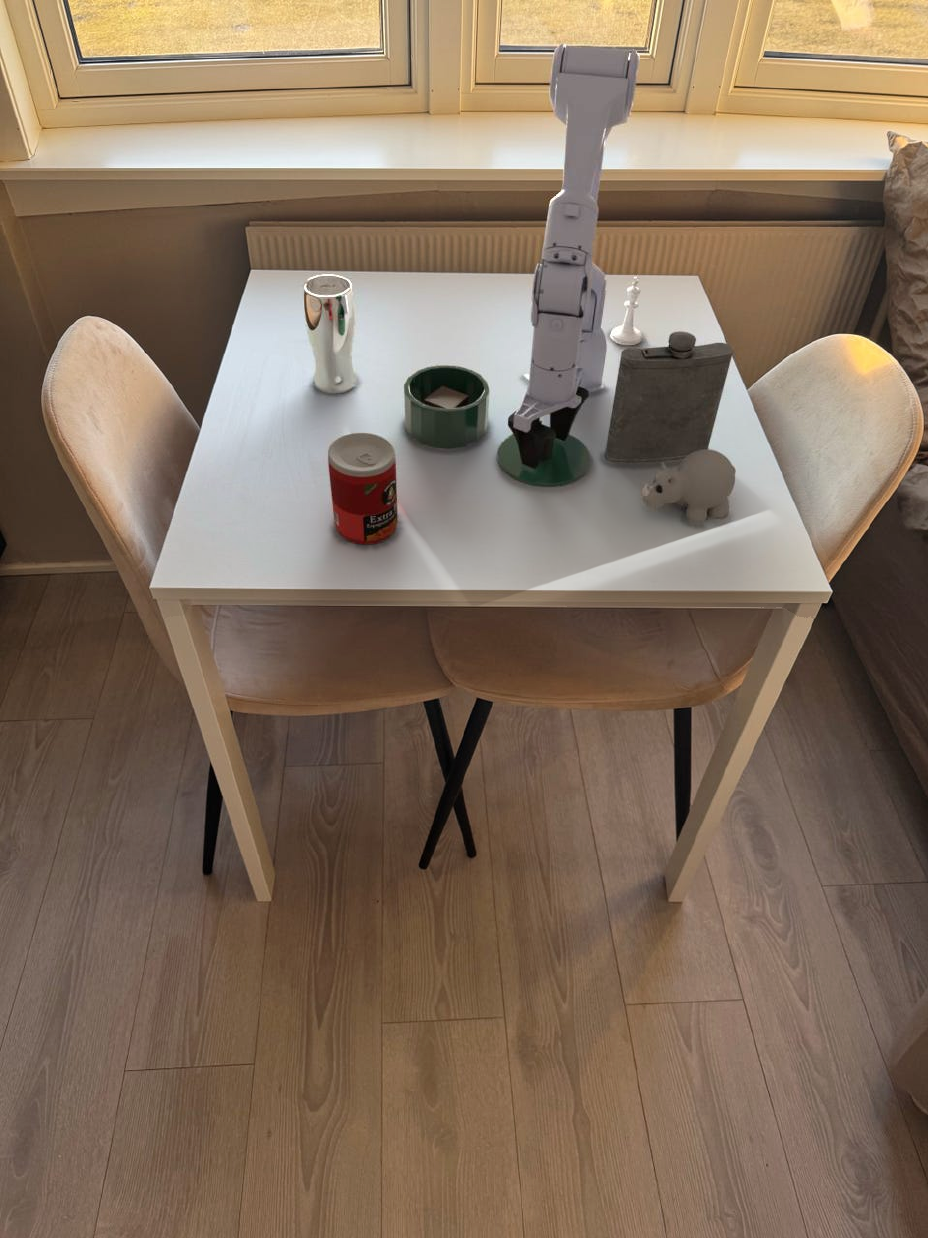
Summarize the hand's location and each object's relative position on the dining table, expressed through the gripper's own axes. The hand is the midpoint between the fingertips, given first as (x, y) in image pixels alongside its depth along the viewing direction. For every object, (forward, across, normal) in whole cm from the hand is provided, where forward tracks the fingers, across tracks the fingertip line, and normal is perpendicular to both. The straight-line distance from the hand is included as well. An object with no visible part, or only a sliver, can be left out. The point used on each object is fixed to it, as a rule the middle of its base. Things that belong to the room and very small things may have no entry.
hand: (544, 451), depth 123 cm
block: (+1, -1, +15) cm, 15 cm away
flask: (+2, +10, -12) cm, 16 cm away
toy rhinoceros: (+2, +1, -20) cm, 20 cm away
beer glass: (+2, -1, +35) cm, 35 cm away
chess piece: (+2, +36, +6) cm, 37 cm away
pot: (+2, -1, +15) cm, 15 cm away
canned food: (+2, -24, +11) cm, 27 cm away
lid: (+1, 0, 0) cm, 1 cm away
